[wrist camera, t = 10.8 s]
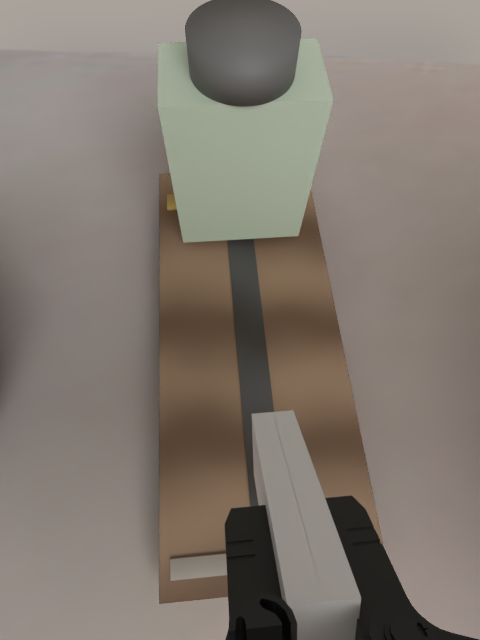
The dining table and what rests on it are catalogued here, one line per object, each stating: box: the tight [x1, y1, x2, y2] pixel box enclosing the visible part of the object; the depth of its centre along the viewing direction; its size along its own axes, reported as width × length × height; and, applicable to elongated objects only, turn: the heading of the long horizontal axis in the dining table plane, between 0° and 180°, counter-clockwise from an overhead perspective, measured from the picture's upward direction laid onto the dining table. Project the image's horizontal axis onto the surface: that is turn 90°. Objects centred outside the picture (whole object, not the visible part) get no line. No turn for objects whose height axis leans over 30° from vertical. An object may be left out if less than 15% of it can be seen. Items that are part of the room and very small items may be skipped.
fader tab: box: [158, 0, 334, 243], centre depth 20 cm, size 4×7×11 cm, turn 95°
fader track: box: [159, 174, 383, 604], centre depth 23 cm, size 24×10×2 cm, turn 5°
